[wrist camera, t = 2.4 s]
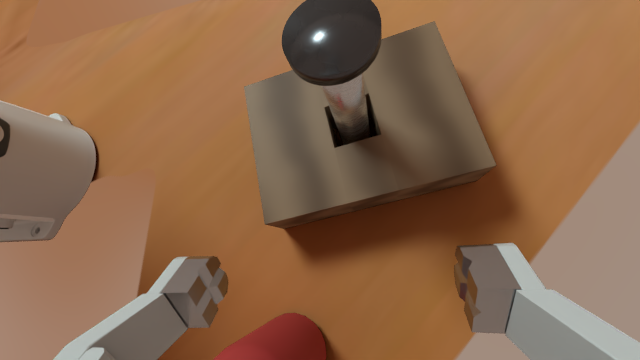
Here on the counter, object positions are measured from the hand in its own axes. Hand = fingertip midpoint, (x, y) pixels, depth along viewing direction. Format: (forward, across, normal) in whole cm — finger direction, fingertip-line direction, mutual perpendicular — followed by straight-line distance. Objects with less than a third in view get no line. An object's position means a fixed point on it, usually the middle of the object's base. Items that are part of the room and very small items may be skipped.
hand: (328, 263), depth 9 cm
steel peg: (+22, 0, +5) cm, 22 cm away
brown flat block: (+22, 0, +5) cm, 22 cm away
